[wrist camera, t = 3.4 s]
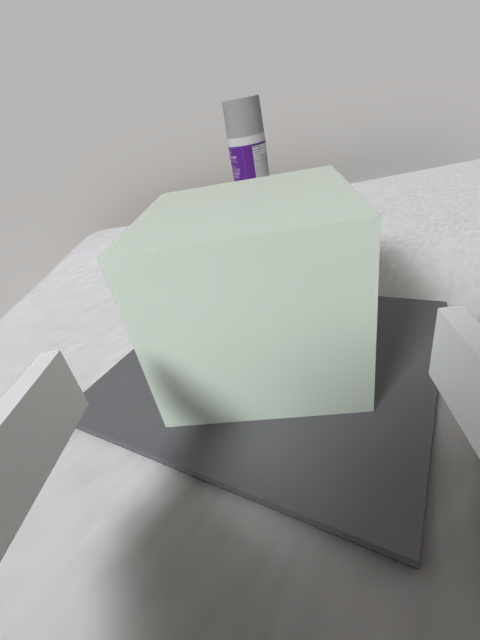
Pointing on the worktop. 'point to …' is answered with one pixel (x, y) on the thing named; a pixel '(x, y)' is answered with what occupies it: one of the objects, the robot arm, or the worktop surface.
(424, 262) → the worktop surface
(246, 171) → the container
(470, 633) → the worktop surface
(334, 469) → the mat
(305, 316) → the pale mint green cube
